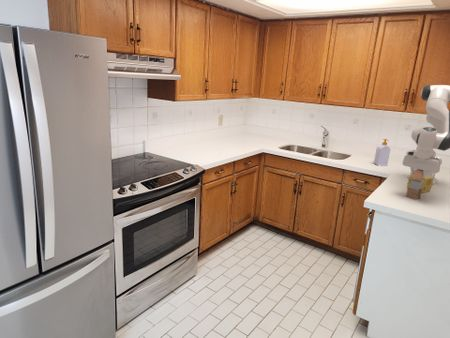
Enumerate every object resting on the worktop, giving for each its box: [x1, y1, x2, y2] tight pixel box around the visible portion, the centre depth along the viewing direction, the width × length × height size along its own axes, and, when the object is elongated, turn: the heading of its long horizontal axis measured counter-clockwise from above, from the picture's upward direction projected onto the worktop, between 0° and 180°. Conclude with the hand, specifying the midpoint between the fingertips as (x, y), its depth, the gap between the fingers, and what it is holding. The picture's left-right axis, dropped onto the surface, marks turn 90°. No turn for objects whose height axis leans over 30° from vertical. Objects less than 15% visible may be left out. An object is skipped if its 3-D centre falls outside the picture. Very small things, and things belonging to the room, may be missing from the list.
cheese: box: [406, 174, 434, 194], centre depth 217 cm, size 10×11×10 cm
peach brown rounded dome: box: [413, 170, 424, 180], centre depth 198 cm, size 5×5×5 cm
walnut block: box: [405, 188, 422, 201], centre depth 201 cm, size 6×6×6 cm
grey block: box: [409, 179, 423, 190], centre depth 200 cm, size 5×5×5 cm
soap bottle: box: [373, 138, 391, 167], centre depth 277 cm, size 9×7×23 cm
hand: (418, 176), depth 198 cm, fingers closed on peach brown rounded dome, 5 cm apart
